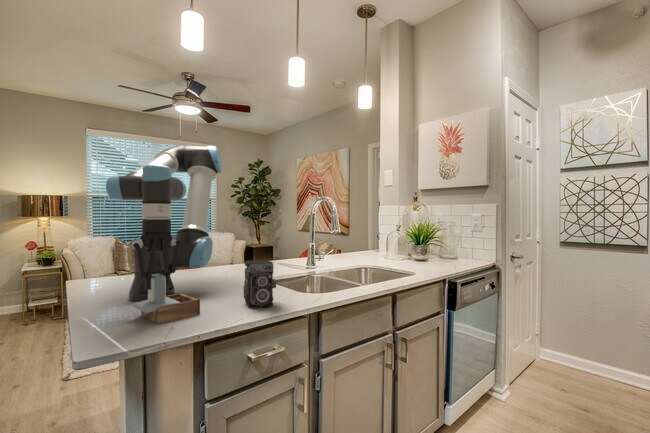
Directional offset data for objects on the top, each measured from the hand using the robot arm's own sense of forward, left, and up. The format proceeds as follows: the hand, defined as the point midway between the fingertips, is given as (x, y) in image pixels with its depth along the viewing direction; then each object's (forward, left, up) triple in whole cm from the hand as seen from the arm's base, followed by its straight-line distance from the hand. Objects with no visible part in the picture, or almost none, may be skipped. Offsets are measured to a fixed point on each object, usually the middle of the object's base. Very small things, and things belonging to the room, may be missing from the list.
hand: (156, 299), depth 93 cm
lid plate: (0, 0, -2) cm, 2 cm away
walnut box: (0, +4, -6) cm, 7 cm away
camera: (+12, +28, -6) cm, 31 cm away
